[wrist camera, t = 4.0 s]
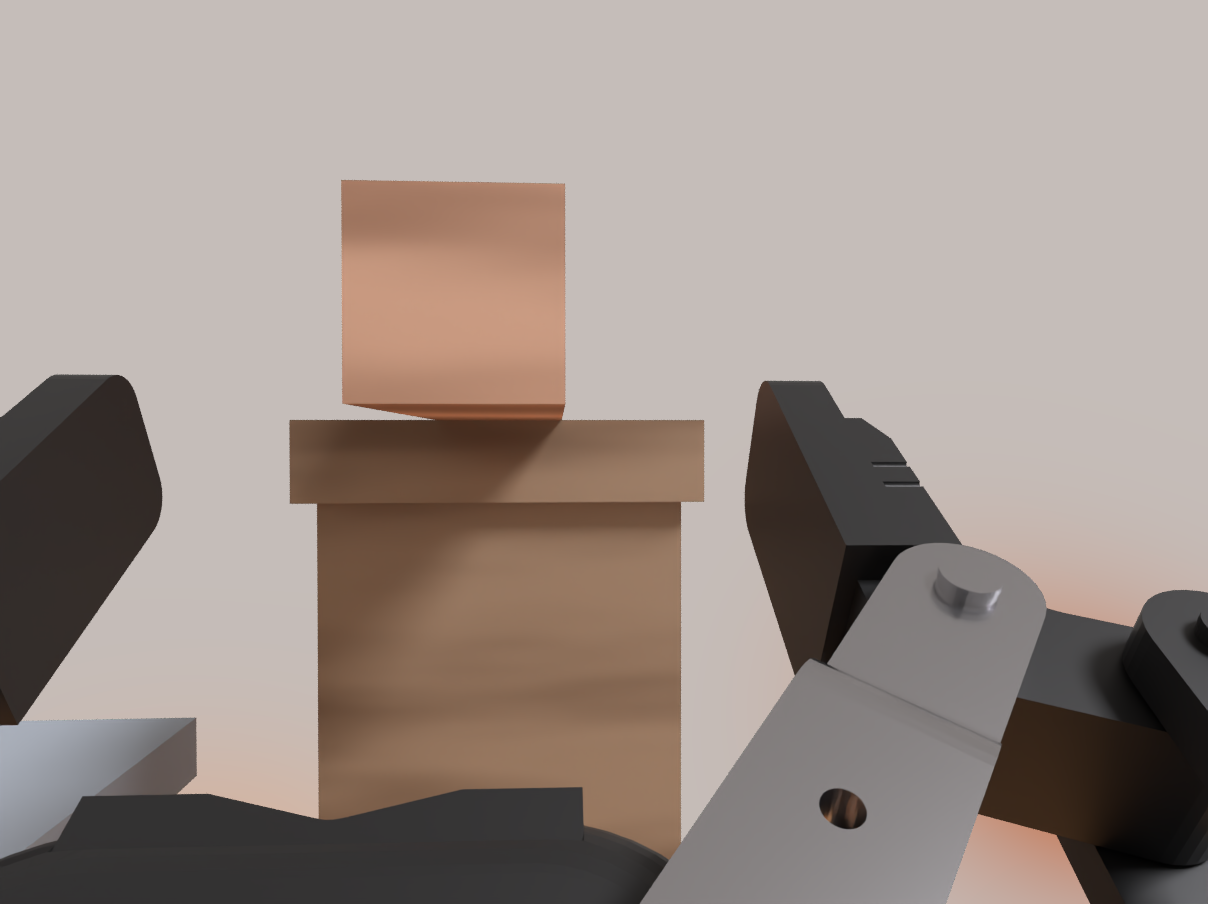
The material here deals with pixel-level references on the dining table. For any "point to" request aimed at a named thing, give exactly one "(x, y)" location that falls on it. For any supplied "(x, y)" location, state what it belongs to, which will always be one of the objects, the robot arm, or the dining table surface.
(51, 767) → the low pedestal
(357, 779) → the tall pedestal
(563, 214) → the terracotta bar
